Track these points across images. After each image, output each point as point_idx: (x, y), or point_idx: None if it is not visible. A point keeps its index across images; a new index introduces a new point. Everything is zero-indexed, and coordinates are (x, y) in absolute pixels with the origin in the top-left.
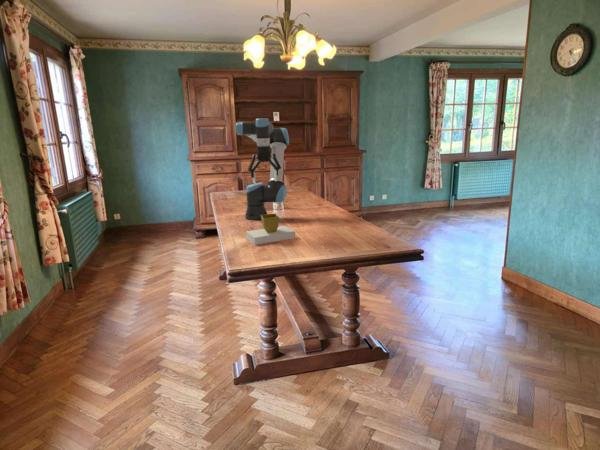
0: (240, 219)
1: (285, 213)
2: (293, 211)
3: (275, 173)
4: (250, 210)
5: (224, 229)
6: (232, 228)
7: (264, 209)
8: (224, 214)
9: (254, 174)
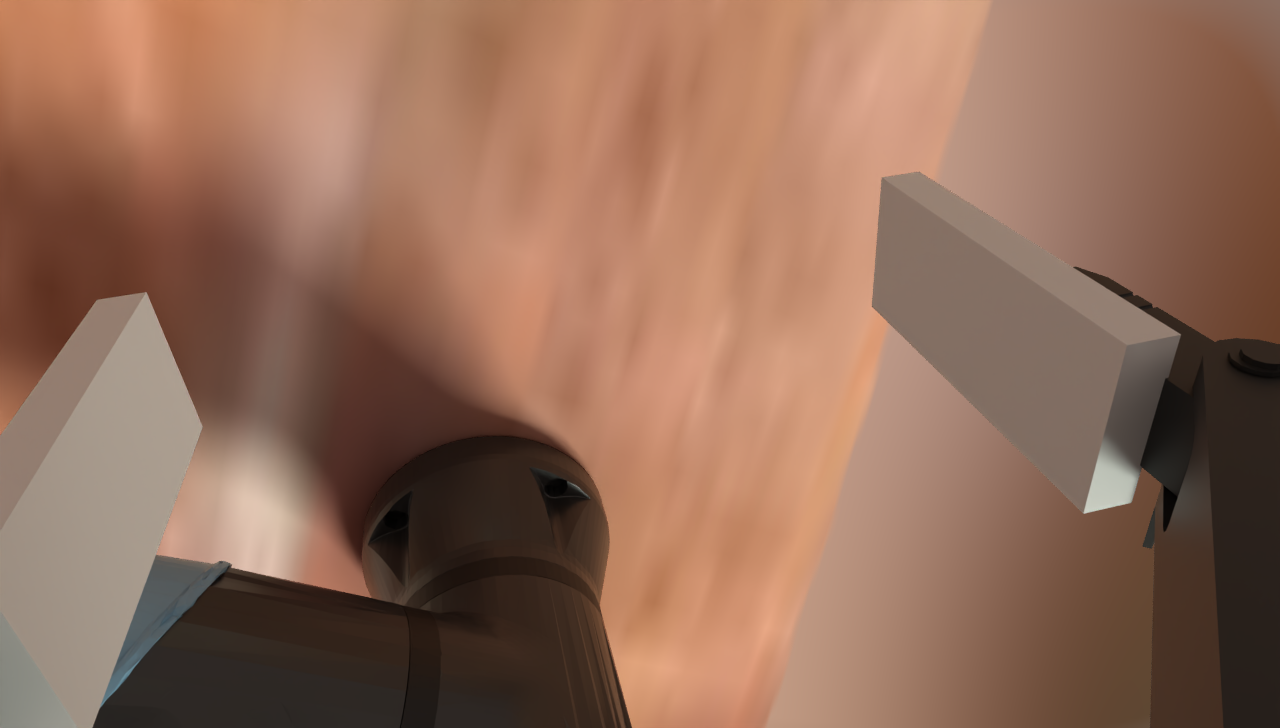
0: (658, 502)
1: None
2: None
3: (52, 481)
4: (576, 540)
5: None
6: (833, 203)
7: (398, 566)
8: (739, 682)
9: (1093, 292)
